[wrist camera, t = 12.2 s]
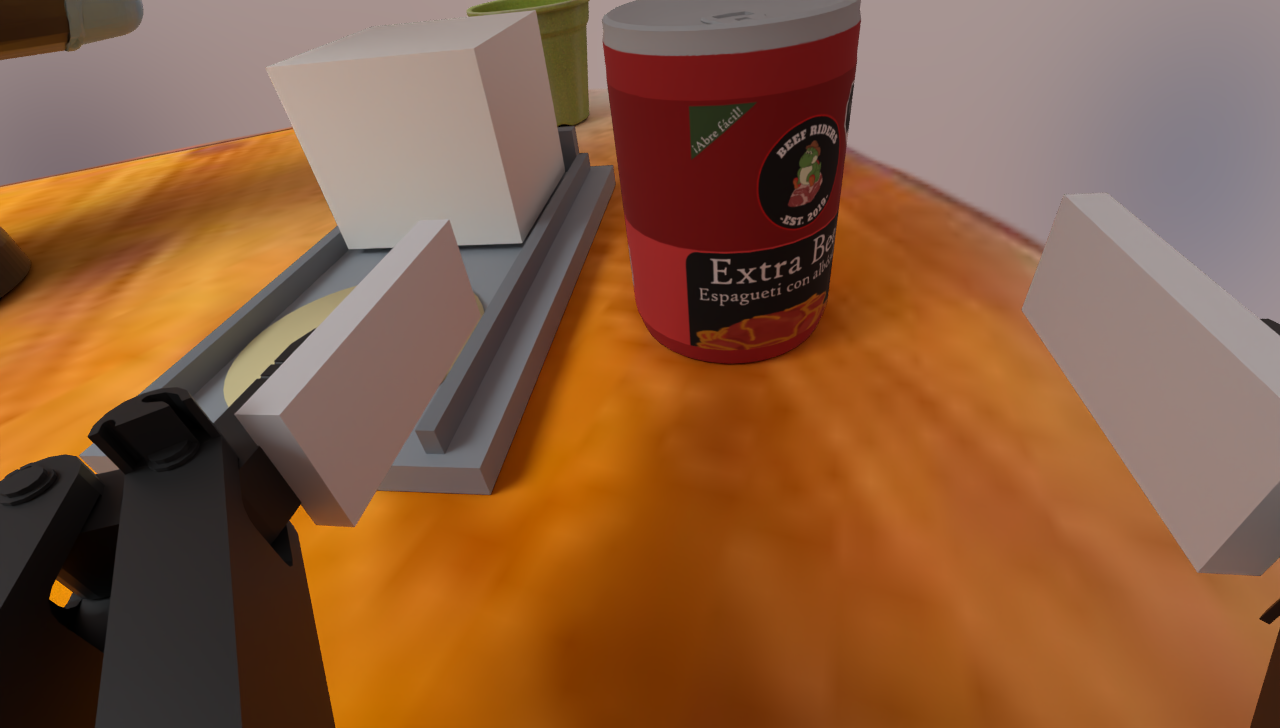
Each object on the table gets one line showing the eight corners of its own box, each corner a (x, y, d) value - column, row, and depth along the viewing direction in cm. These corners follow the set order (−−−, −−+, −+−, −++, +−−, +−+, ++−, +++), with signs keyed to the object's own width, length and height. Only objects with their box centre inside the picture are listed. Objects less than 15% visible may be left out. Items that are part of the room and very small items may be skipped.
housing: (522, 243, 27) (473, 48, 22) (348, 249, 29) (265, 67, 24) (565, 171, 34) (535, 10, 29) (423, 178, 36) (371, 26, 30)
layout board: (490, 494, 18) (455, 408, 15) (103, 479, 20) (23, 402, 18) (615, 183, 36) (607, 123, 34) (408, 194, 38) (387, 138, 36)
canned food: (706, 398, 20) (691, 40, 13) (604, 299, 26) (557, 13, 19) (870, 321, 23) (930, -15, 16) (744, 246, 28) (748, -24, 21)
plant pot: (474, 139, 46) (440, 15, 41) (529, 105, 53) (506, -7, 48) (580, 141, 43) (558, 7, 38) (624, 104, 50) (611, -15, 45)
